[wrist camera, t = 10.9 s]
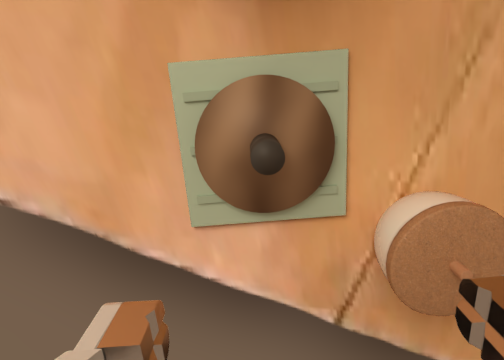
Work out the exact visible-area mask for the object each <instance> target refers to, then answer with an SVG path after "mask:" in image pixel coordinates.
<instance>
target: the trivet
mask: <svg viewBox="0 0 504 360" xmlns="http://www.w3.org/2000/svg"><path fill="white" fill-rule="evenodd" d="M168 70H169V76H170V83H171V90H172V97H173V104H174V110H175V117H176V124H177V131H178V138H179V144H180V151H181V158H182V165H183V172H184V178H185V185H186V192H187V199H188V206H189V213H190V219H191V226H192V227H199V226H211V225H224V224H237V223H250V222H263V221H276V220H289V219H302V218H314V217H327V216H340V215H346V171H347V106H348V49H338V50H325V51H313V52H300V53H287V54H275V55H262V56H250V57H237V58H225V59H212V60H199V61H187V62H174V63H168ZM255 75H277V76H282V77H286V78H289V79H292V80H294V81H296V82H299V83H300V84H302V85H304V86H305V87H307V88H308V89H309V90H310V91H312V92H313V93H314V94H315V95H316V96H317V97H318V98H319V99H320V101H321V102H322V104H323V105H324V106H325V108H326V110H327V112H328V114H329V116H330V119H331V121H332V124H333V129H334V135H335V150H334V156H333V161H332V164H331V167H330V170H329V172H328V174H327V176H326V177H325V179H324V181H323V182H322V184H321V185H320V186H319V187H318V188H317V190H316V191H315V192H314V193H313V194H312V195H310V196H309V197H308V198H307V199H305V200H304V201H302V202H301V203H299V204H297V205H295V206H293V207H291V208H288V209H286V210H282V211H278V212H271V213H257V212H250V211H245V210H242V209H239V208H236V207H234V206H232V205H230V204H228V203H227V202H225V201H224V200H222V199H221V198H220V197H219V196H218V195H216V194H215V193H214V192H213V191H212V189H211V188H210V187H209V186H208V185H207V183H206V182H205V180H204V178H203V176H202V174H201V172H200V170H199V167H198V164H197V160H196V156H195V134H196V129H197V125H198V122H199V120H200V117H201V115H202V113H203V111H204V109H205V108H206V106H207V105H208V103H209V102H210V101H211V100H212V99H213V97H214V96H215V95H216V94H217V93H219V92H220V91H221V90H222V89H223V88H225V87H226V86H228V85H230V84H231V83H233V82H235V81H238V80H240V79H242V78H246V77H249V76H255Z"/></svg>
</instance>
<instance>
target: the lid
mask: <svg viewBox="0 0 504 360" xmlns="http://www.w3.org/2000/svg"><path fill="white" fill-rule="evenodd" d="M334 150H335V135H334V129H333V124H332V121H331V119H330V116H329V114H328V112H327V110H326V108H325V106H324V105H323V104H322V102H321V101H320V99H319V98H318V97H317V96H316V95H315V94H314V93H313V92H312V91H310V90H309V89H308V88H307V87H305V86H304V85H302V84H300V83H299V82H296V81H294V80H292V79H289V78H286V77H282V76H277V75H255V76H249V77H246V78H242V79H240V80H238V81H235V82H233V83H231V84H230V85H228V86H226V87H225V88H223V89H222V90H221V91H220V92H219V93H217V94H216V95H215V96H214V97H213V99H212V100H211V101H210V102H209V103H208V105H207V106H206V108H205V109H204V111H203V113H202V115H201V117H200V120H199V122H198V125H197V129H196V134H195V156H196V160H197V164H198V167H199V170H200V172H201V174H202V176H203V178H204V180H205V182H206V183H207V185H208V186H209V187H210V188H211V189H212V191H213V192H214V193H215V194H216V195H218V196H219V197H220V198H221V199H222V200H224V201H225V202H227V203H228V204H230V205H232V206H234V207H236V208H239V209H242V210H245V211H250V212H257V213H271V212H278V211H282V210H286V209H288V208H291V207H293V206H295V205H297V204H299V203H301V202H302V201H304V200H305V199H307V198H308V197H309V196H310V195H312V194H313V193H314V192H315V191H316V190H317V188H318V187H319V186H320V185H321V184H322V182H323V181H324V179H325V177H326V176H327V174H328V172H329V170H330V167H331V164H332V161H333V156H334Z"/></svg>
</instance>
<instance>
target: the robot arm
mask: <svg viewBox="0 0 504 360" xmlns="http://www.w3.org/2000/svg"><path fill="white" fill-rule="evenodd" d="M458 292H459V293H460V295H461V296H462V297H463V299H462V300H461V301H460V302H459V303H458V304H457V305H456V314H455V317H456V321H457V325H458V328H459V330H460V332H461V333H462V335H463V336H464V338H465V339H466V340H467V341H468V343H470V344H472V345H473V346H475V347H477V348H479V349H481V358H482V359H483V360H504V275H501V276H492V277H479V278H466V279H462V281H461V282H460V285H459V291H458ZM164 314H165V310H164V306H163V302H162V301H160V300H154V301H133V302H119V303H106V304H104V305H103V306H102V307H101V308H100V310H99V311H98V313H97V315H96V316H95V317H94V319H93V321H92V322H91V324H90V325H89V327H88V329H87V330H86V332H85V333H84V335H83V336H82V338H81V339H80V341H79V342H78V344H77V345H76V347H75V349H74V350H73V351H66V352H65V353H64V354H62V355H61V356H59V357H58V358H56V359H55V360H167V357H168V352H169V330H168V326H167V325H166V324H164V322H163V321H162V320H163V317H164Z"/></svg>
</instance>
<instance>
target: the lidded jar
mask: <svg viewBox="0 0 504 360" xmlns="http://www.w3.org/2000/svg"><path fill="white" fill-rule="evenodd" d="M374 248H375V253H376V257H377V260H378V263H379V265H380V267H381V269H382V271H383V274H384V275H385V277H386V278H387V280H388V281H389V283H390V285H391V288H392V289H393V291H394V292H395V294H396V295H397V296H398V298H399V299H400V300H401V301H402V302H403V303H404V304H405V305H407V306H408V307H410V308H411V309H413V310H415V311H417V312H420V313H423V314H427V315H434V316H450V315H455V314H456V305H457V304H458V303H459V302H460V301H461V300H462V299H463V297H462V296H461V295H460V293H459V292H458V291H459V285H460V282H461V281H462V279H466V278H479V277H492V276H501V275H504V218H503V217H502V216H500V215H499V214H498V213H496V212H494V211H493V210H491V209H489V208H487V207H485V206H482V205H479V204H476V203H474V202H472V201H470V200H468V199H466V198H463V197H460V196H457V195H454V194H450V193H445V192H439V191H423V192H417V193H413V194H410V195H407V196H405V197H403V198H401V199H399V200H397V201H396V202H394V203H393V204H392V205H391V206H389V207H388V208H387V210H386V211H385V212H384V213H383V215H382V216H381V218H380V220H379V222H378V224H377V227H376V230H375V236H374Z"/></svg>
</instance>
